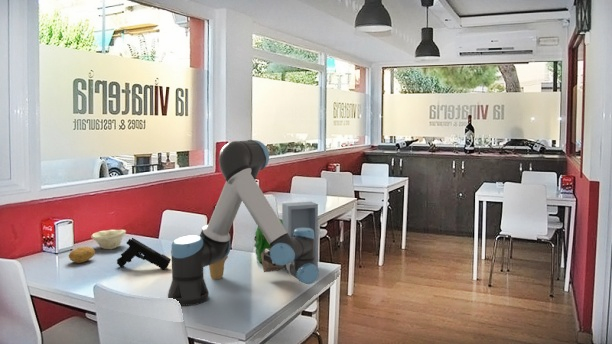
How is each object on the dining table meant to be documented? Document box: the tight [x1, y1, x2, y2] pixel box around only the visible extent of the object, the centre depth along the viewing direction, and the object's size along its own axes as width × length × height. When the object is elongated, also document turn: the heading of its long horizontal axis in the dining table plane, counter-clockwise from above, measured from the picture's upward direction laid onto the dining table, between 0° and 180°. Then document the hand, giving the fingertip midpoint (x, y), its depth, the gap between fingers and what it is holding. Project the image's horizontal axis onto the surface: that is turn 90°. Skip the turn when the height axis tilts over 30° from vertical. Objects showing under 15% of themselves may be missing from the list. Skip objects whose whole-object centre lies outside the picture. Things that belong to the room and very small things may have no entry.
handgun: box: [116, 237, 172, 271], centre depth 251 cm, size 5×23×15 cm, turn 80°
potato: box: [68, 246, 96, 264], centre depth 262 cm, size 9×13×7 cm
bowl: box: [90, 229, 127, 250], centre depth 289 cm, size 14×18×15 cm
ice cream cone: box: [208, 254, 229, 280], centre depth 235 cm, size 11×11×20 cm
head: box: [253, 218, 282, 263], centre depth 259 cm, size 20×19×22 cm
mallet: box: [261, 248, 284, 273], centre depth 229 cm, size 16×8×8 cm, turn 21°
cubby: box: [281, 201, 319, 274], centre depth 247 cm, size 8×14×30 cm, turn 112°
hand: (275, 250), depth 229 cm, fingers closed on mallet, 8 cm apart
